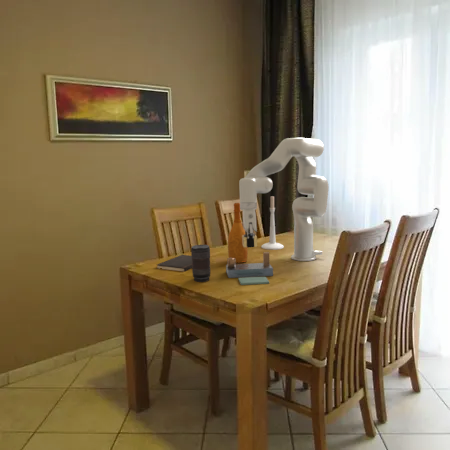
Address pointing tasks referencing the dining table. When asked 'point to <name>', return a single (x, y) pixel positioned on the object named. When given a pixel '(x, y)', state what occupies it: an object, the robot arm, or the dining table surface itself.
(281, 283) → the dining table surface
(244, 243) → the lever cap
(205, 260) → the camera lens
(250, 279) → the rubber mat
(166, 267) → the hardcover book
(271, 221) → the candlestick
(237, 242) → the wine bottle
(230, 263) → the hand plane
